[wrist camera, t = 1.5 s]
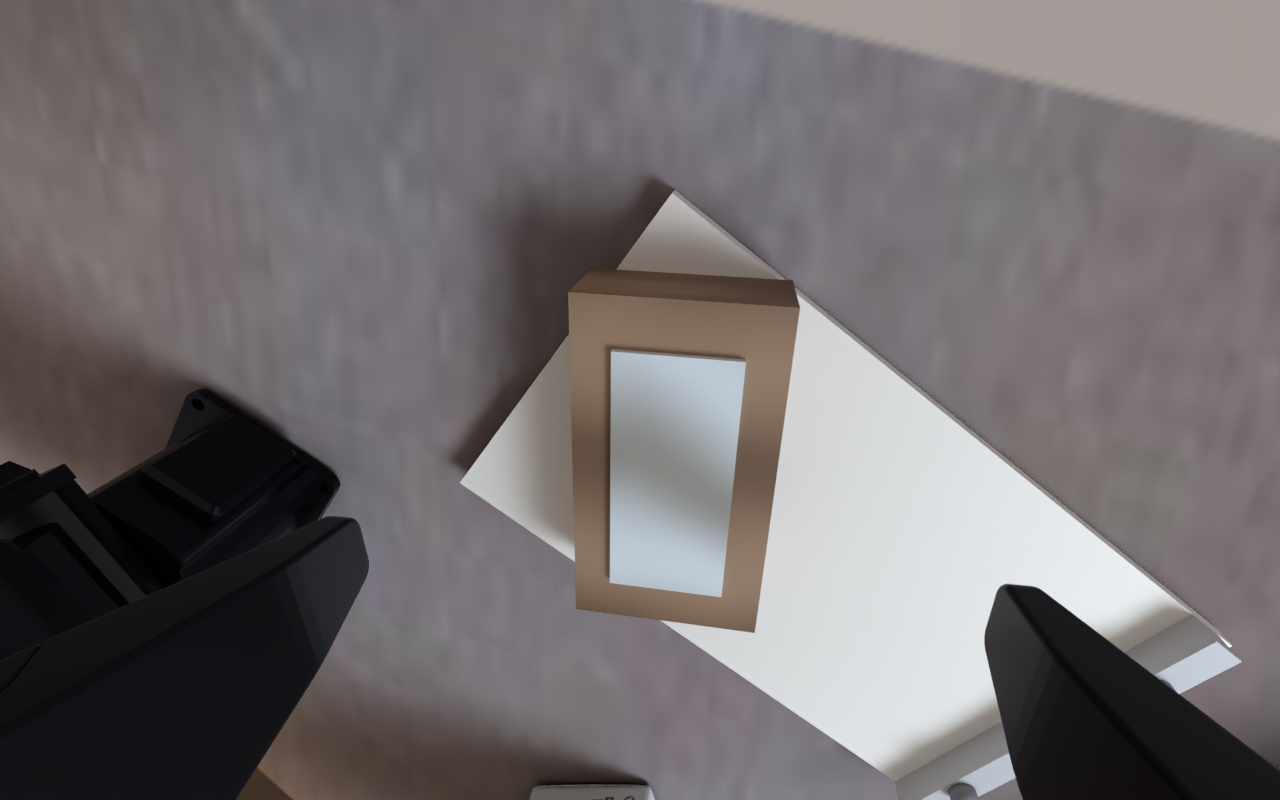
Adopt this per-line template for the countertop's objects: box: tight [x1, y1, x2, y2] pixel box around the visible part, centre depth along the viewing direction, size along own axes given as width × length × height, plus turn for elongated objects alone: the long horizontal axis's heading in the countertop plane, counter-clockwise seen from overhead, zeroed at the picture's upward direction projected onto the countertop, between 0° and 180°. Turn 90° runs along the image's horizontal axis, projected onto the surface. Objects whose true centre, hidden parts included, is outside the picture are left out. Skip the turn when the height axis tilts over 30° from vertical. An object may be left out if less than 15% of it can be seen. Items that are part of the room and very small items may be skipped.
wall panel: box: [460, 190, 1242, 800], centre depth 22 cm, size 13×24×2 cm, turn 54°
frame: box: [568, 268, 800, 633], centre depth 19 cm, size 11×6×3 cm, turn 179°
